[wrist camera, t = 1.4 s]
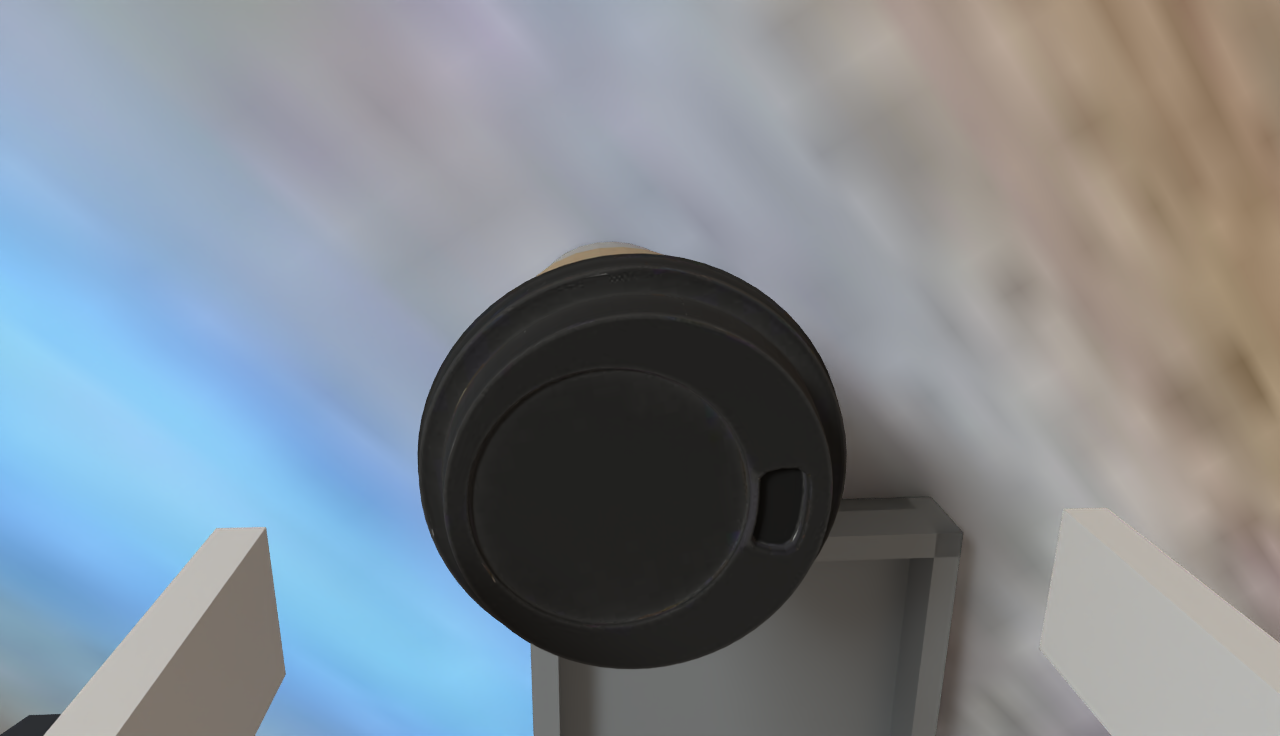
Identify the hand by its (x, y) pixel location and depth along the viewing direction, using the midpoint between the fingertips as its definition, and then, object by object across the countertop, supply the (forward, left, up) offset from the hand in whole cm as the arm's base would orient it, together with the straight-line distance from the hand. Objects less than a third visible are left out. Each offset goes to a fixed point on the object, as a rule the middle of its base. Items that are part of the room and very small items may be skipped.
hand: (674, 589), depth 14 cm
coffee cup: (0, 0, -18) cm, 18 cm away
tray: (+5, -15, -18) cm, 24 cm away
